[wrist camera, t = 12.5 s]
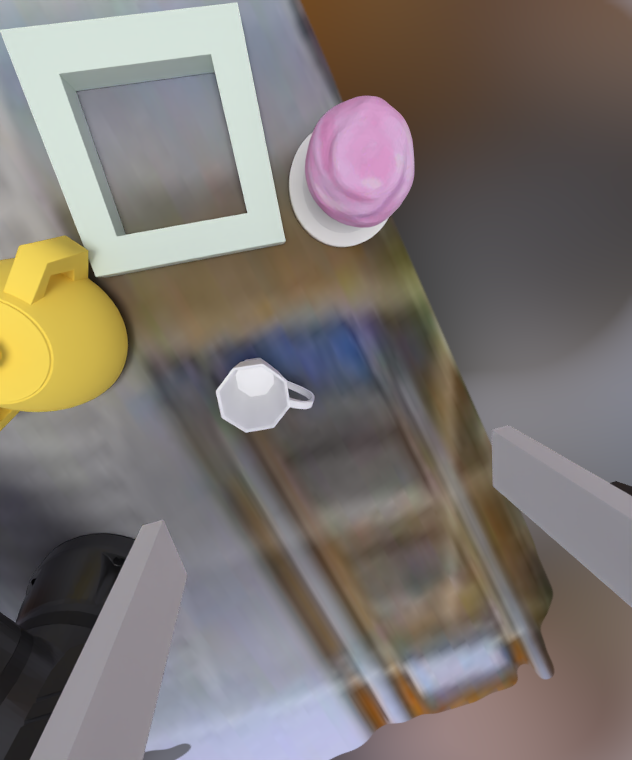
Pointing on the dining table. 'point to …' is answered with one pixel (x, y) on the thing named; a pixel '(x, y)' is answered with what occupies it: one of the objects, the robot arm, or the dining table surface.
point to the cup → (257, 396)
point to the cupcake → (360, 161)
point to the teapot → (55, 331)
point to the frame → (134, 65)
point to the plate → (320, 210)
